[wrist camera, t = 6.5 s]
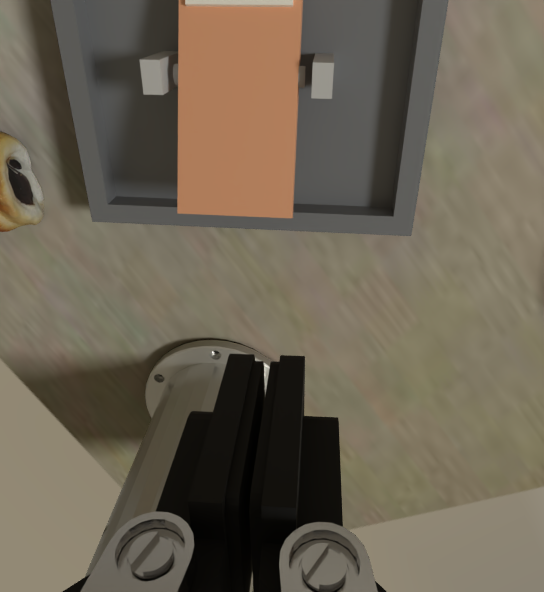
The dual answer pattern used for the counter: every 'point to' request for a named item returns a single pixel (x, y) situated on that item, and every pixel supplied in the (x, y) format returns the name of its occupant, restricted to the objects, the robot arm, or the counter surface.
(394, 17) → the breaker panel
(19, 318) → the counter surface
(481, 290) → the counter surface
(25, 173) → the pastry
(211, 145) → the rocker
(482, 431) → the counter surface
